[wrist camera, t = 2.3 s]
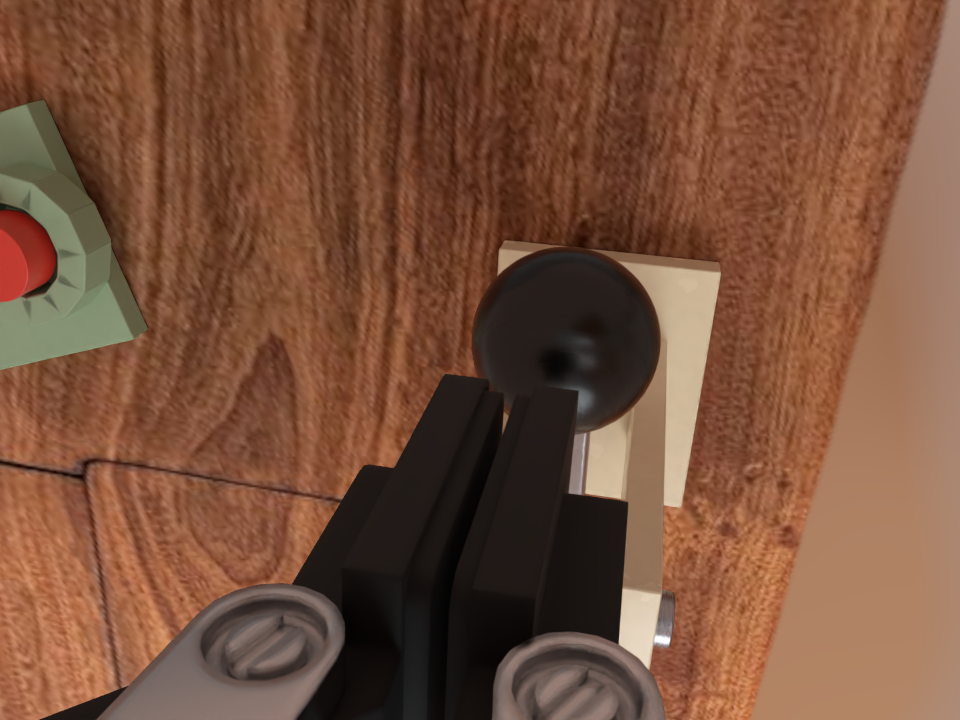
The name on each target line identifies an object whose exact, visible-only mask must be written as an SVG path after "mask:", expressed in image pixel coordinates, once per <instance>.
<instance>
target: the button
mask: <svg viewBox="0 0 960 720" xmlns="http://www.w3.org/2000/svg"><path fill="white" fill-rule="evenodd" d="M55 266H56V253H55V248H54V245H53V243H52V241H51V238H50V236H49V235H48V233H47V232H46V230H45V229H44V228H43V227H42V226H41V225H40V224H39V223H38V222H37V221H36V220H35V219H33V218H32V217H30V216H29V215H27V214H25V213H22V212H20V211H16V210H0V302H8V301H12V300H14V299H16V298H18V297H20V296H22V295H24V294H26V293H28V292H30V291H32V290H33V289H35V288H37V287H39V286H41V285H43V284H45V283H46V282H47V281H48V280H49V279H50V278H51V276H52V275H53V273H54V270H55Z"/></svg>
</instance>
